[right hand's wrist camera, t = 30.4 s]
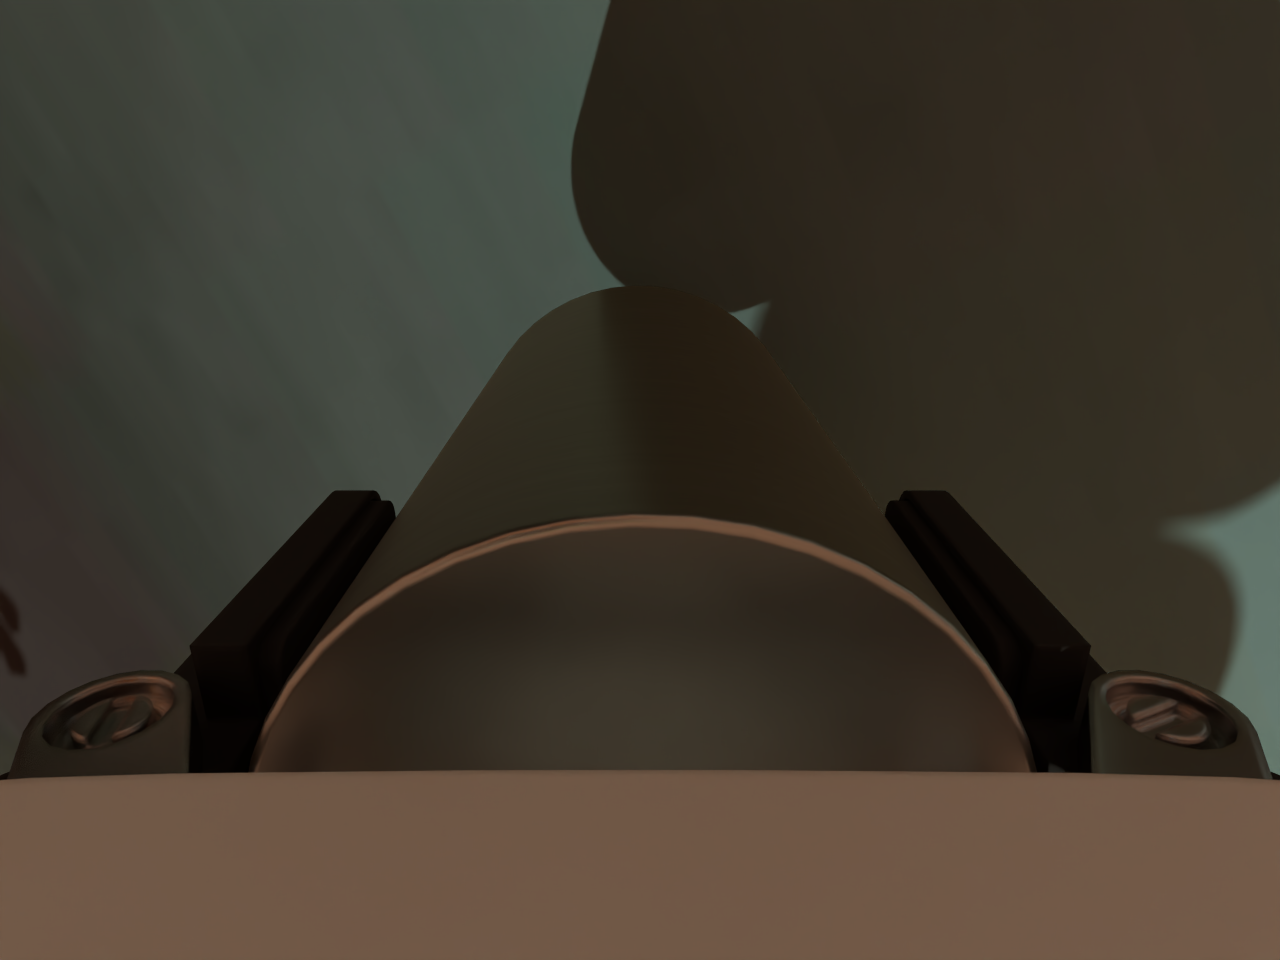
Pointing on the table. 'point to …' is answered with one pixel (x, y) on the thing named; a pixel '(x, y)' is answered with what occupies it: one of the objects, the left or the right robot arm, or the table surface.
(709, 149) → the table surface
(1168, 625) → the table surface
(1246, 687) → the table surface
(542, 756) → the can
